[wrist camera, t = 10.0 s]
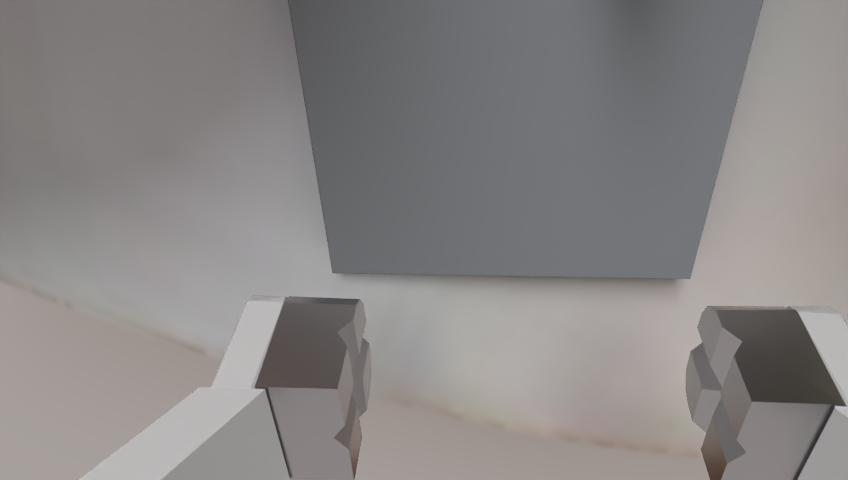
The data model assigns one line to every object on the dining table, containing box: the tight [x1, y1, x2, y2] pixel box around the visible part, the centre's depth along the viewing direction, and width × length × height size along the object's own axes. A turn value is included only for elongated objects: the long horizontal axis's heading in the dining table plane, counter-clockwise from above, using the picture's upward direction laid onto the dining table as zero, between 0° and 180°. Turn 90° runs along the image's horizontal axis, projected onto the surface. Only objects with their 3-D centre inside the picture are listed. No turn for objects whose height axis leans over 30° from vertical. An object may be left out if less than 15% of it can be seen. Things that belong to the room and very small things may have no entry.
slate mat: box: [288, 0, 763, 279], centre depth 15 cm, size 9×9×1 cm
